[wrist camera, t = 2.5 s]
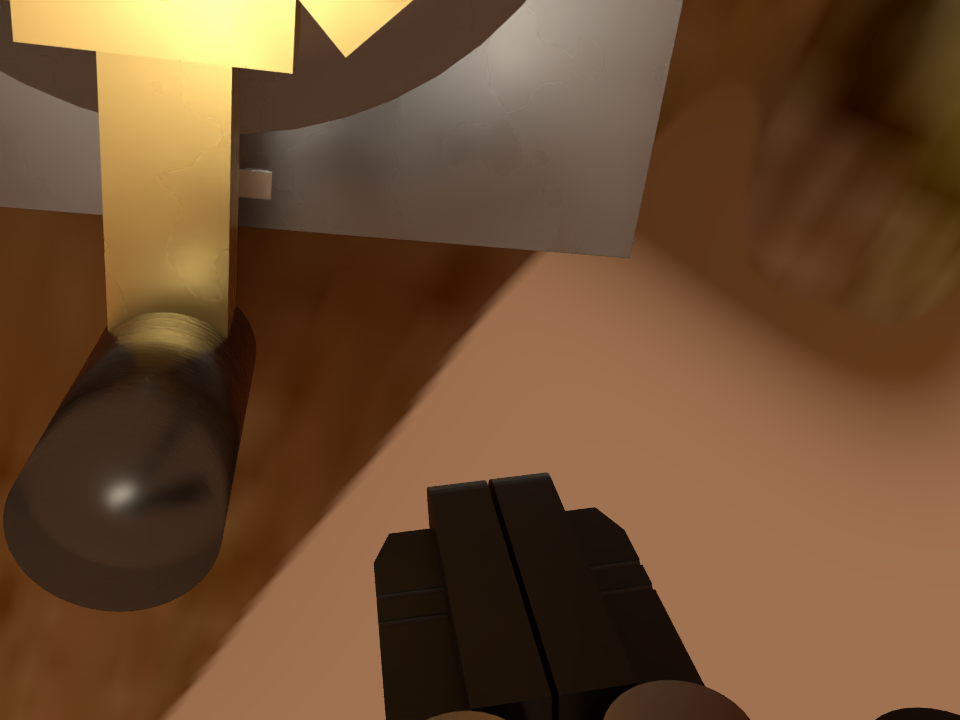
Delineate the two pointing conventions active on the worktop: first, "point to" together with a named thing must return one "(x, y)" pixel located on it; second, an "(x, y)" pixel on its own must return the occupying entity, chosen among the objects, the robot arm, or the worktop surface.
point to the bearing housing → (401, 126)
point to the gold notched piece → (158, 295)
